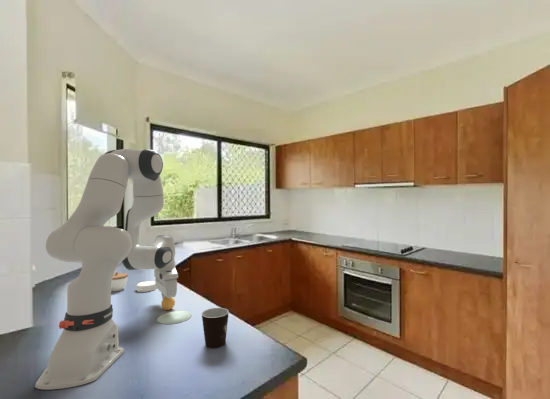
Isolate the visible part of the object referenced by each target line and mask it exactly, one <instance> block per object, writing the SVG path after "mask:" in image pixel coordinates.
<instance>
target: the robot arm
mask: <svg viewBox="0 0 550 399" xmlns="http://www.w3.org/2000/svg"><path fill="white" fill-rule="evenodd" d="M163 169H164V162H163V158H162V156H161V155H160V154H159V152H158V151H156V150H154V149H148V148H145V149H141V148H139V149H138V148H137V149H136V148H122V149H113V150H112V149H111V150H109V151H106V152H105V153H103V154H101V155H100V156H99V157H98V158H97V160H96V161H95V163H94V165H93V167H92V168H91V171H90V174H89V176H88V179H87V181H86V185H85V188H84V191H83V193H82V197H81V199H80V201H79V203H78V205H77V207H76V208H75V210H74V211H73V212H72V214H71V216H70V217H69V218H68V219H67V221H65V222H64V223H63V224H62V225H61V226H60V227H58V228H57V229H55V230H53V231H52V232H51V233H50V234H49V235H48V237H47V239H46V241H45V250H46V252H47V255H49V257H51V258H53V259H56V260H59V261H62V262H64V263H81V270H80V273H79V274H78V276H77V277H75V278H74V279H73V280H71V281H70V282H69V284H68V285H67V288H66V312H65V315H64V318H63V320H59V323H58V329H62V331H61V333H60V335H59V337H58V339H57V341H56V343H55V345H54V347H53V349H52V351H51V353H50V354H49V357H48V362H47V367H46V368H45V369H44V371H43V372H42V373H41V374H40V376H39V378H38V379H37V381H36V382H35V385H34V388H36V389H38V390H44V391H45V390H48V391H49V390H61V389H68V388H74V387H79V386H82V385H86V384H89V383H91V382H94V381H96V380H97V379H98V378H99V377H101V375H103V374H104V372H106V371H107V370H108V369H109V368H110V367H111V366H112V365H113V364H114V363H115V362H116V361H117V360H118V359H119V358H120V357H121V356H122V355H123V354H124V353H125V349H124V348H123V347H121V346H120V345H119V344H120V343H119V329H118V328H119V327H118V324H117V323H116V322H115V321H114V320H113V316H114V315H113V312H114V308H113V304H112V291H111V285H112V278H113V275H114V274H115V273H116V271H117V268H118V266H119V265H120V264H121V263H122V265H123V267H125V269H127V270H129V271H136V270H154V271H153V272H154V273H153V276H154V278H155V285H156V290H158V291H159V292H161V301H162V300H163V299H164V298H165V297H167V298H175V297H176V296H177V292H178V291H177V290H178V280H177V279H179V273H178V271H177V269H176V261H175V257H176V245H175V239H174V236H172V235H164V234H162V235H156V236H155V238H154V243H153V244H152V245H140V243H139V239H140V227H141V224H142V222H144V221H145V220H148V219H151V218H153V217H155V216H157V215H158V214H160V212H161V211H162V209H163V208H164V204H165V199H164V198H165V197H164V189H163V184H162V179H161V176H160V175H161V173H162V171H163ZM129 179H130V180H131V181H133V182H132V194H133V200H132V201H133V202H132V206H131V207H130V208H129V209H128V210H127V213H126V217H125V226H124V227H125V228H124V229H123V228H120V227H115V226H111V225H110V226H107V225H106V226H105V224H106V223H107V222H109V221H110V219H111V218H113V217H115V216H117V214H118V213H120V212H121V209H122V205H123V202H124V198H125V194H126V192H127V191H126V190H127V186H128V181H129Z"/></svg>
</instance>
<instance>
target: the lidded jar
mask: <svg viewBox="0 0 550 399" xmlns="http://www.w3.org/2000/svg"><path fill="white" fill-rule="evenodd" d="M127 283H128V273H125V272H119V273H118V271H115V272H114V275H113V278H112V285H111V292H119V291H122V290H124V288H125V287H126V286H127Z"/></svg>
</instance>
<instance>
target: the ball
mask: <svg viewBox="0 0 550 399" xmlns="http://www.w3.org/2000/svg"><path fill="white" fill-rule="evenodd" d="M175 304H176V300H175V298H174V297H172V298H167V297H165V298H164V299H163V300H162V299H161V308H162V309H163V310H165V311H169V310H171V309H173V308H174V306H175Z"/></svg>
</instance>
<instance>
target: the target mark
mask: <svg viewBox="0 0 550 399" xmlns="http://www.w3.org/2000/svg"><path fill="white" fill-rule="evenodd" d="M191 318H192V313H191V312H190V311H186V310H175V311H169V312H166V313H163V314H161V315H160V316H158V317H157V320H156V321H157V323H160V324H162V325H175V324H179V323H180V324H181V323H183V322H186V321H188V320H190V319H191Z"/></svg>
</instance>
